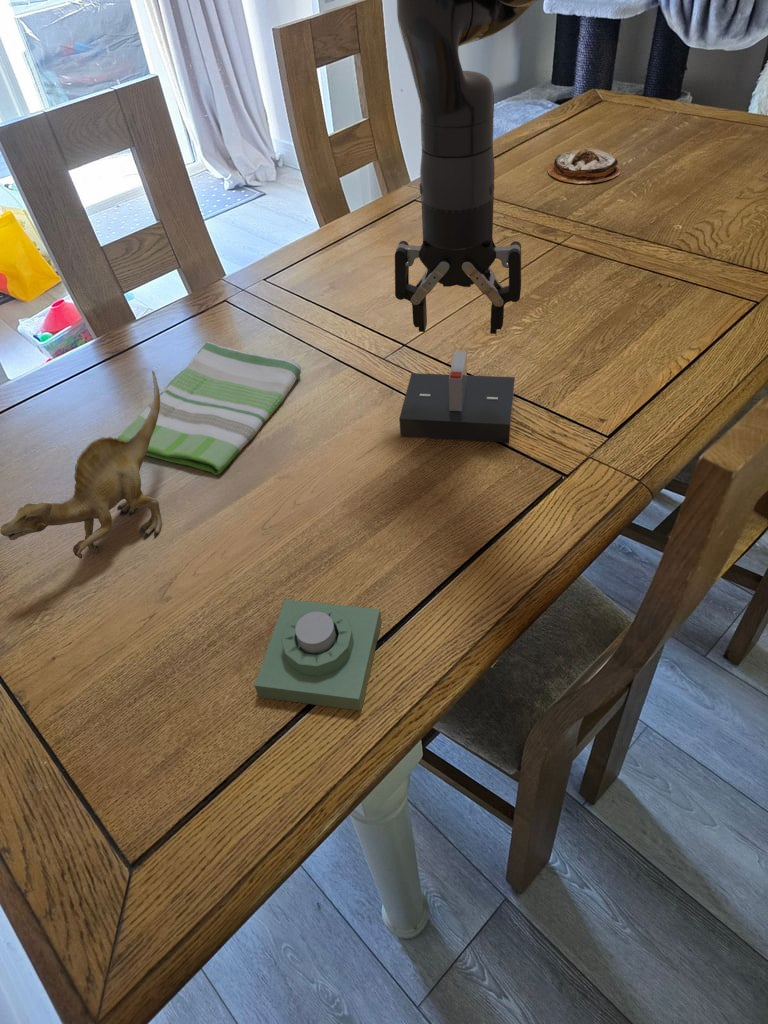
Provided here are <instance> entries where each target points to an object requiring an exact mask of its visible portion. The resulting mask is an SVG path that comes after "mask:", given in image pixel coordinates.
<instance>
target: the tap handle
mask: <svg viewBox="0 0 768 1024" xmlns="http://www.w3.org/2000/svg"><path fill="white" fill-rule="evenodd" d="M449 375H450V376H449V410H450V411H462V408H463V402H464V397H465V391H466V385H467V375H468V351H458V350H457V351H454V352H453V356H452V362H451V366H450V371H449Z"/></svg>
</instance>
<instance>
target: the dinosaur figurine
mask: <svg viewBox="0 0 768 1024" xmlns="http://www.w3.org/2000/svg"><path fill="white" fill-rule="evenodd" d="M151 376H152V383H153V400H154V401H153V400H152V401H153V405H152V408H151V411H150V413H149V415H148V417H147V418H146V420H145V422H144V424H143V425H142V427H141V428H140V429H139V431H138V432H137V433H136V434H135V435H134V436H133V438H130V439H129V440H128V441H123V440H119V439H118V437H113V436H107V437H104V436H101V437H99V438H96V439H94V440H93V441H91V442H90V443H88V445H87V446H86V447H85V448H84V449H83V450H82V451H81V452H80V454H79V455H78V456H77V458H76V463H75V465H74V475H73V476H74V477H73V479H74V481H75V483H74V491H73V496H72V497H71V498H69V499H67V500H66V501H63V502H57V503H56V502H55V503H54V502H39V503H26V504H24V506H20V507H19V508H18V510H17V513H16V515H15V516H14V517H13V518H12V519H11V520H10V521H8V522H6V523H4V524H3V525H1V526H0V534H1V536H3V537H7V538H8V539H9V541H15V540H18V538H21V537H24V536H26V535H29V534H35V533H40V532H43V531H45V530H46V528H47V527H51V526H64V525H69V524H76V523H83V522H84V533H85V536H84V539H82V540H79V541H78V542H77V543H76V544H75V545H73V547H72V552H73V554H74V556H75V557H77V558H78V559H83V554H82V552H84V550H85V549H86V548H87V547H88V549H89V550H90V551H91V552H93V553H97V552H99V551H100V548H99V545H98V544H96V545H95V544H94V543H96V542H98V541H100V540H103V539H104V538H105V537H107V536H108V535H110V534H111V533H112V531H113V518H112V514H111V510H112V509H113V508H115V507H116V506H117V507H116V510H120V509H121V510H120V511H119V514H118V515H119V516H122V515H123V514H126V513H127V516H131V515H132V514H133V513H134V512H135V511H136V509H138V508H148V509H149V510H150V518H149V519H148V520H147V521H146V522H144V523H143V524H142V525H141V526H140V528H139V530H138V533H142V532H144V534H143V536H142V538H143V539H145V538H147V537H148V536H149V535H150V534H151V533H152V532H153V531H154V533H153V537H154V538H156V537H157V535H158V534H160V531H161V528H162V524H163V522H162V514H161V510H160V509H161V508H160V503H159V501H158V499H157V498H155V497H151V496H149V495H147V494H143V491H142V478H141V473H140V471H141V468H142V465H143V463H144V461H145V457H146V456H147V455H146V452H147V450H148V446H149V443H150V440H151V437H152V434H153V432H154V429H155V426H156V423H157V419H158V415H159V410H160V394H161V393H160V387H159V384H158V380H157V379H158V378H157V376H156V373H155V370H151ZM123 500H125V501H123ZM121 501H123V502H121ZM120 502H121V503H120ZM119 503H120V504H119ZM95 519H96V520H98V522H99V524H100V527H99V528H97V529H96V530H95V531H94V525H95Z"/></svg>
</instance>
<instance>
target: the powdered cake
mask: <svg viewBox="0 0 768 1024" xmlns="http://www.w3.org/2000/svg"><path fill="white" fill-rule="evenodd" d="M621 172H622V167H621V166H620V165H619V164H618V160H617V158H616V157H615V156H614V155H612V154H611V153H609V152H607V151H605V150H603V149H600V148H596V147H586V148H584V147H583V148H579V149H574V150H571V151H567V152H561V153H560V154H559V155H556V157H555V159H554V161H553V162H551V163H550V164H549V165H548V166H547V174H549V176H550V177H553V178H554V179H556V180H559V181H561V182H565V183H570V184H571V183H572V184H581V185H582V184H594V183H596V184H597V183H602V182H606V181H609V180H613V179H615V178H616V177H617V176H619V175H621Z"/></svg>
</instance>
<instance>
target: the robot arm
mask: <svg viewBox="0 0 768 1024" xmlns="http://www.w3.org/2000/svg"><path fill="white" fill-rule="evenodd" d="M536 1H538V0H396V18H397V24H398V28H399V32H400V36H401V39H402V42H403V46H404V49H405V53H406V55H407V60H408V64H409V67H410V72H411V76H412V79H413V83H414V86H415V90H416V93H417V97H418V101H419V106H420V140H421V158H420V169H419V171H420V172H419V173H420V174H419V175H420V176H419V177H420V183H419V194H420V202H421V204H420V205H421V223H422V224H421V225H422V227H421V228H422V243H421V245H411V244H409V243H408V241H406V240H401V241H399V242H398V245H397V248H396V249H395V253H394V297H395V298H396V299H397V300H400V301H402V300H407V301H409V302H410V304H411V310H412V324H413V326H414V328H418V332H419V333H425V332H426V330H427V326H428V313H427V295H428V294H430V293H431V292H432V291H433V289H434V288H435V287H436V285H437V284H441V285H442V287H445V288H446V287H447V288H448V287H454V286H458V287H463V288H470V287H471V286H473V285H475V286H476V287H477V289H478V290H479V291H480V292H481V294H482V295H485V296H486V298H487V299H488V300H489V301H490V302H491V305H490V328H489V329H490V333H489V334H490V335H497V332H498V330H502V328H503V326H504V319H505V306H506V304H507V303H511V302H512V303H517V302H519V301H520V299H521V291H522V244H521V242H520V241H517V240H515V241H512V242H511V243H510V244H509V245H503V246H502V245H501V246H496V244H495V242H494V239H493V234H494V233H493V231H494V229H493V228H494V201H495V174H496V173H495V157H494V120H495V119H494V114H495V93H494V87H493V86H494V85H493V82H492V81H491V80H490V78H489V77H488V76H486V75H485V74H484V73H481V72H477V71H473V70H464V69H463V67H462V64H461V59H460V54H459V47H461V46H465V45H468V44H470V43H474V42H478V41H481V40H484V39H487V38H489V37H492V36H494V35H495V34H498V33H499V32H501V31H503V30H504V29H506V28H507V27H509V26H511V25H512V24H513V23H515V22H516V21H517V20H518V19H519V18H520V17H522V15H524V13H525V12H527V10H528V9H529V8H531V7H532V6H533V5H534V4H535V2H536ZM418 258H419V260H420V262H421V263H422V264H423V266H424V267H425V268H426V270H425V271H424V274H423V275H422V277H421V278H420V279H419V280H418V282H417V283H416V285H413V284H410V267H412V266H413V265H414V263H415V260H417V259H418ZM496 259H498V260H499V261H500V262H501V266H502V267H503V268H505V269H508V285H506V286H503V285H502V284H501V283H500V281H499V280H498V279H497V277H496V274H495V272H494V271H493V269H492V268H491V266H492V265H493V264H494V262H495V261H496Z"/></svg>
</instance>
